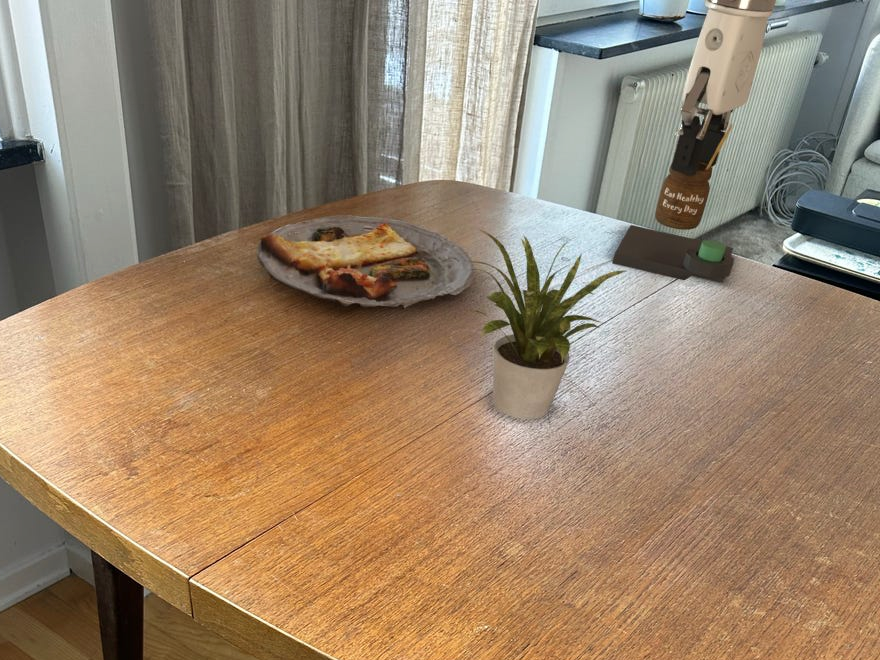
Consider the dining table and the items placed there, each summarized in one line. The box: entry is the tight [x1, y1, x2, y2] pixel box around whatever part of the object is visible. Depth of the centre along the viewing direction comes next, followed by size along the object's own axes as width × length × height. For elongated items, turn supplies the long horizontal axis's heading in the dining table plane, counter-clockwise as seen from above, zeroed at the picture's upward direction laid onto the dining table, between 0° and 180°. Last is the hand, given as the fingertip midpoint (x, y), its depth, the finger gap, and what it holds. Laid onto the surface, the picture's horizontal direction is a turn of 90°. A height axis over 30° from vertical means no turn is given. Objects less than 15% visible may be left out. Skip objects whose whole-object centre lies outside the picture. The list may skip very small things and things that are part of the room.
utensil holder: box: [654, 123, 733, 231], centre depth 119 cm, size 6×6×12 cm
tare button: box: [698, 239, 727, 262], centre depth 119 cm, size 3×3×2 cm
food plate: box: [256, 214, 474, 309], centre depth 110 cm, size 25×23×4 cm
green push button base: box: [611, 224, 735, 284], centre depth 123 cm, size 14×13×3 cm
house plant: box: [467, 227, 627, 420], centre depth 86 cm, size 14×14×16 cm
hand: (693, 166), depth 118 cm, fingers closed on utensil holder, 5 cm apart
